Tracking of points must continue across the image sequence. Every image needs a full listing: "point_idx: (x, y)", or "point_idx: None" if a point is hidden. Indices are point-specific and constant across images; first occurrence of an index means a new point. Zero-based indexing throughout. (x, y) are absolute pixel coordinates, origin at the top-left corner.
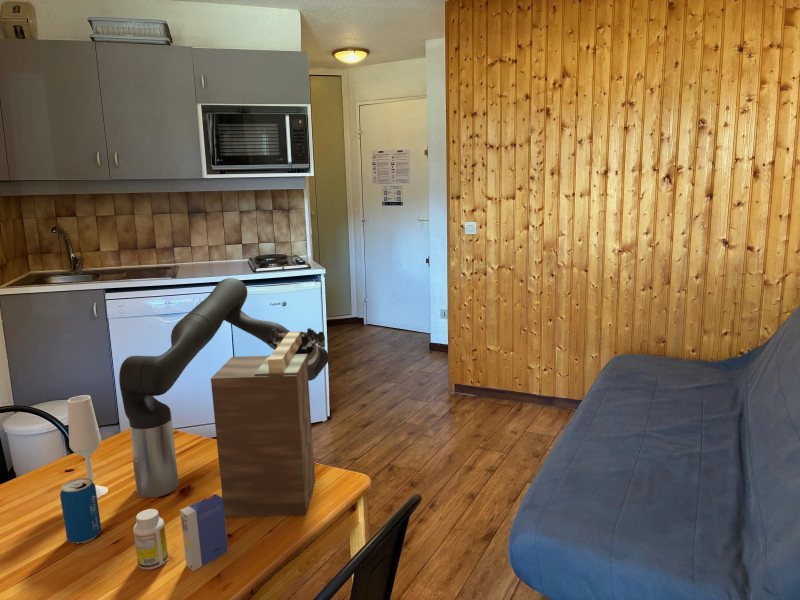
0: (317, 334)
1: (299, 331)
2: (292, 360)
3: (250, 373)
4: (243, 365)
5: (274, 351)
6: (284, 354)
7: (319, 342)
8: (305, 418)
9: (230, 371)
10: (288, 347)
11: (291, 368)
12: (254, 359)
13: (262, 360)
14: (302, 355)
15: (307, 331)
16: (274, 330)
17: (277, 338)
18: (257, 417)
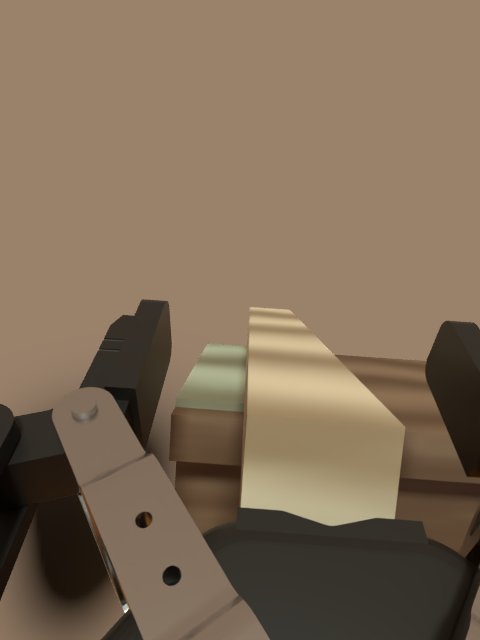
0: (48, 416)
1: (264, 415)
2: (238, 374)
3: (346, 361)
4: (423, 388)
5: (296, 318)
6: (251, 311)
7: (22, 523)
8: None
9: (423, 373)
10: (255, 322)
11: (228, 352)
12: (432, 412)
13: (381, 402)
14: (200, 391)
15: (168, 320)
16: (445, 326)
17: (463, 437)
18: None
